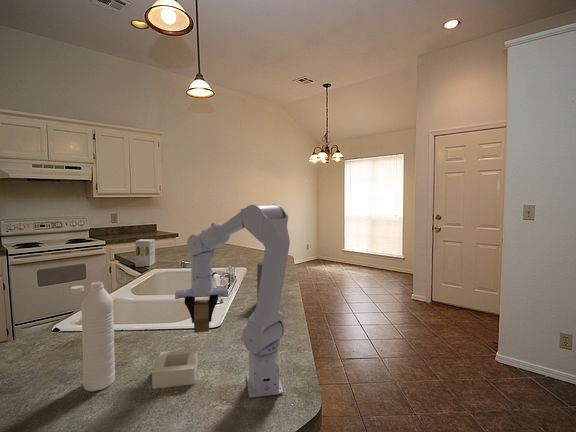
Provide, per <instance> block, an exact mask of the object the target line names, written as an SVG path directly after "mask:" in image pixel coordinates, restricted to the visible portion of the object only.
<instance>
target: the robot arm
mask: <svg viewBox="0 0 576 432" xmlns="http://www.w3.org/2000/svg"><path fill="white" fill-rule="evenodd" d="M288 220H289V214H287V212H286V210H284V208H283V207H282V206H281V205H279V204H276V203H275V204H274V203H273V204H257V205H256V204H249V205H247V206H246V207H244V208H241V209H240V211H239V212H238V213H236V214H235V215H234V216H232V217H231V218H229V219H228V220H227V221H225V222H223V223H221V222H213V223H210V227H208V228H207V229H202V230H201V231H200V233H199V234H190V235H189V237H188V238H187V240H186V248H187V249H186V250H187V252H188V253H189V255H191V257H190V258H191V260H190V261H191V263H190V264H191V265H190V268H191V270H190V273H191V278H190V279H191V288H188V289H187V288H186V289H179V290H177V289H176V290H175V292H174V299H175V300H179V299H184V304H185V307H186V309H187V310H188V313H189V314H190V318H191V319H190V320H191V323H192V324H194V304H195V301H196V298H205V297H206V298H207V297H209V298H208V300H209V323H211V322H212V317H213V314H214V311H215V308H216V306H217V304H218V301H219V297H225V298H226V297H228V288H227V287H213V259H214V254H215V251H216V249H217V248H218V247H220V246H222V245H224V244H226V243H227V242H228V241H229V239H230V238H231V235H233V234H235V233H237V232H239V231H240V230H243V229H246V230H247V231H248V232H249V233H250V234H251V235H252V236H253V237H254V238H255V239H257V241H259V242H260V243H262V245H263V246H264V253H263V261H262V262H263V266H262V272H261V279H260V285H259V291H258V298H257V297H256V304H255V305H256V306H255V309H254V310H253V312H252V313H251V314H250V316H249V318H248V319H247V322H246V325H245V327H244V328H243V331H242V333H241V334H242V336H241V337H242V338H241V339H242V342H243V345H244V347H245V348H246V350H247V351H248V371H247V372H246V373H245V374H246V382H247V391H248V393H247V394H248V397H249V398H250V399H251V398H258V397H260V398H261V397H267V396H275V395H283V394H284V390H283V386H282V382H281V379H280V366H279V345H280V344H281V339H282V338H283V337H284V335H285V323H284V319H285V315H284V314H283V313H282V312H281V311H280V310H279V309H280V304H281V297H282V291H283V286H284V280H285V275H286V268H287V267H286V266H287V263H288V262H287V261H288V258H289V257H288V256H289V251H290V243H291V242H290V234H289V229H288V222H289V221H288Z"/></svg>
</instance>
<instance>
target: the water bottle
mask: <svg viewBox="0 0 576 432" xmlns="http://www.w3.org/2000/svg"><path fill="white" fill-rule="evenodd" d="M103 283H104V282H103V281H95V282H92V283H91V286H90V290H89V292H88V293H87V294H86V296H85V298H84V299H83V300H82V303H81V305H80V308H81V334H82V338H81V339H82V340H81V343H82V348H81V349H82V368H83V369H82V371H83V373H82V375H83V384H82V385H83V389H84V390H85V391H87V392H88V391H89V392H97V391H100V390H104V389H106V388H107V387H110V386H111V385H112V384H113V383H114V382H115V379H116V369H115V368H116V366H115V365H116V364H115V358H116V357H115V330H114V328H115V324H114V300H113V297H112V295H111V294H110V293H108V291H107V289H105V288H104V286H105V285H104V284H103ZM84 291H85V286H84V285H74V286H71V287H70V293H73V294H77V293H81V292H84Z"/></svg>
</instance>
